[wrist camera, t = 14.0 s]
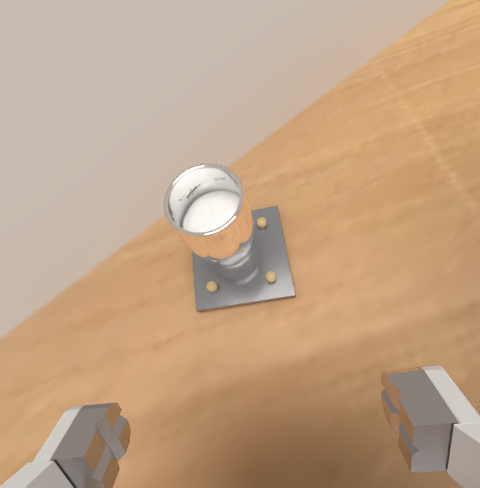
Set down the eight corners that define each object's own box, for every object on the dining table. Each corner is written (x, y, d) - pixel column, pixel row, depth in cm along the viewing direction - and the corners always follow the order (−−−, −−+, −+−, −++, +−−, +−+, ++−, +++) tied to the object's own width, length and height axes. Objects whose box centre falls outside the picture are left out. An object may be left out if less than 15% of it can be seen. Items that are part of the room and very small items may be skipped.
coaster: (277, 210, 39) (276, 201, 37) (294, 296, 35) (295, 293, 33) (192, 226, 40) (187, 218, 38) (199, 311, 36) (193, 309, 34)
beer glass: (199, 269, 37) (144, 218, 23) (225, 224, 38) (189, 150, 25) (247, 293, 35) (219, 253, 21) (272, 244, 36) (262, 176, 22)
